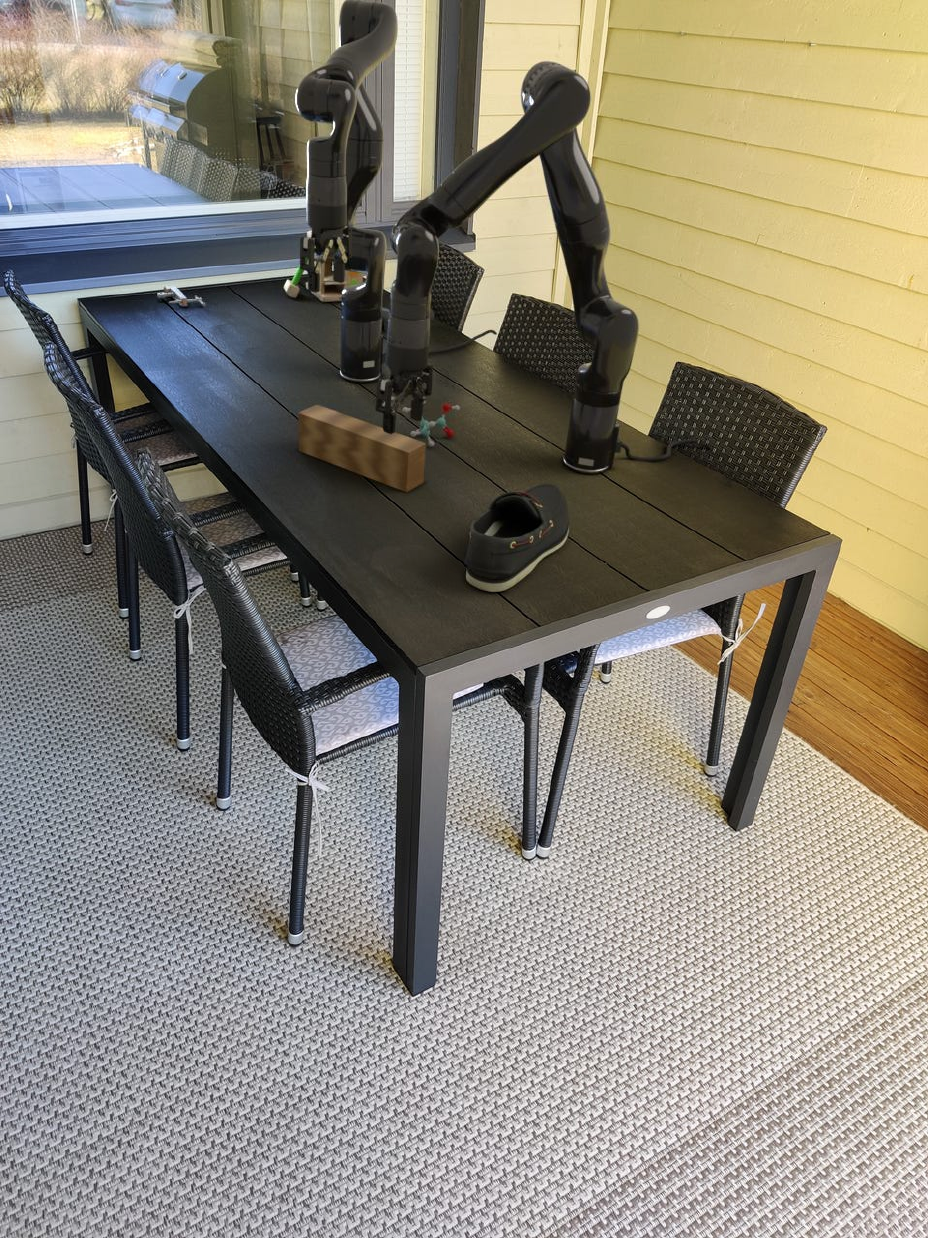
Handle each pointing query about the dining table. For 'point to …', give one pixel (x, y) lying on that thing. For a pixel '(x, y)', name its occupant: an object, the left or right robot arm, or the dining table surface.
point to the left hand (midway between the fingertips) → (326, 286)
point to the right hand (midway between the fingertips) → (402, 425)
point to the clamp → (178, 296)
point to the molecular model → (433, 424)
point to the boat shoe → (515, 536)
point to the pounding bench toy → (325, 281)
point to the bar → (362, 447)
